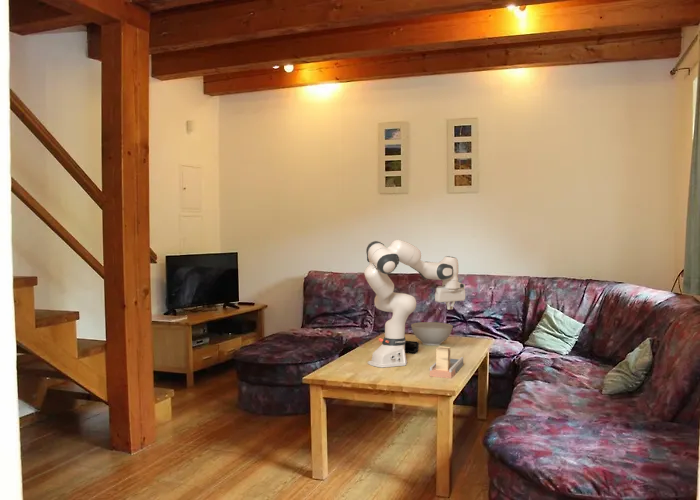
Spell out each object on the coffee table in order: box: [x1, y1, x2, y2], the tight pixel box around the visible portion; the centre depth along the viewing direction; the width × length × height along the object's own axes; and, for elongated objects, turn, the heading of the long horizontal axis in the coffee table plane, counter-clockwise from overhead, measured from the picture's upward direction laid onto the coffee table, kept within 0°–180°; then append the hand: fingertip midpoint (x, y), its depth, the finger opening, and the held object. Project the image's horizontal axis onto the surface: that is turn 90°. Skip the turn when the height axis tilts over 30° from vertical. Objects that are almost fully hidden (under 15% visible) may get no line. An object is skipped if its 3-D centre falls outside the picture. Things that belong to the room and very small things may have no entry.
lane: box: [429, 356, 464, 379], centre depth 319 cm, size 32×11×4 cm, turn 159°
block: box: [435, 345, 451, 371], centre depth 309 cm, size 6×6×11 cm
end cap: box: [405, 340, 420, 355], centre depth 366 cm, size 10×7×7 cm
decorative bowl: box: [410, 321, 454, 346], centre depth 394 cm, size 27×27×12 cm
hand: (450, 309), depth 343 cm, fingers closed
